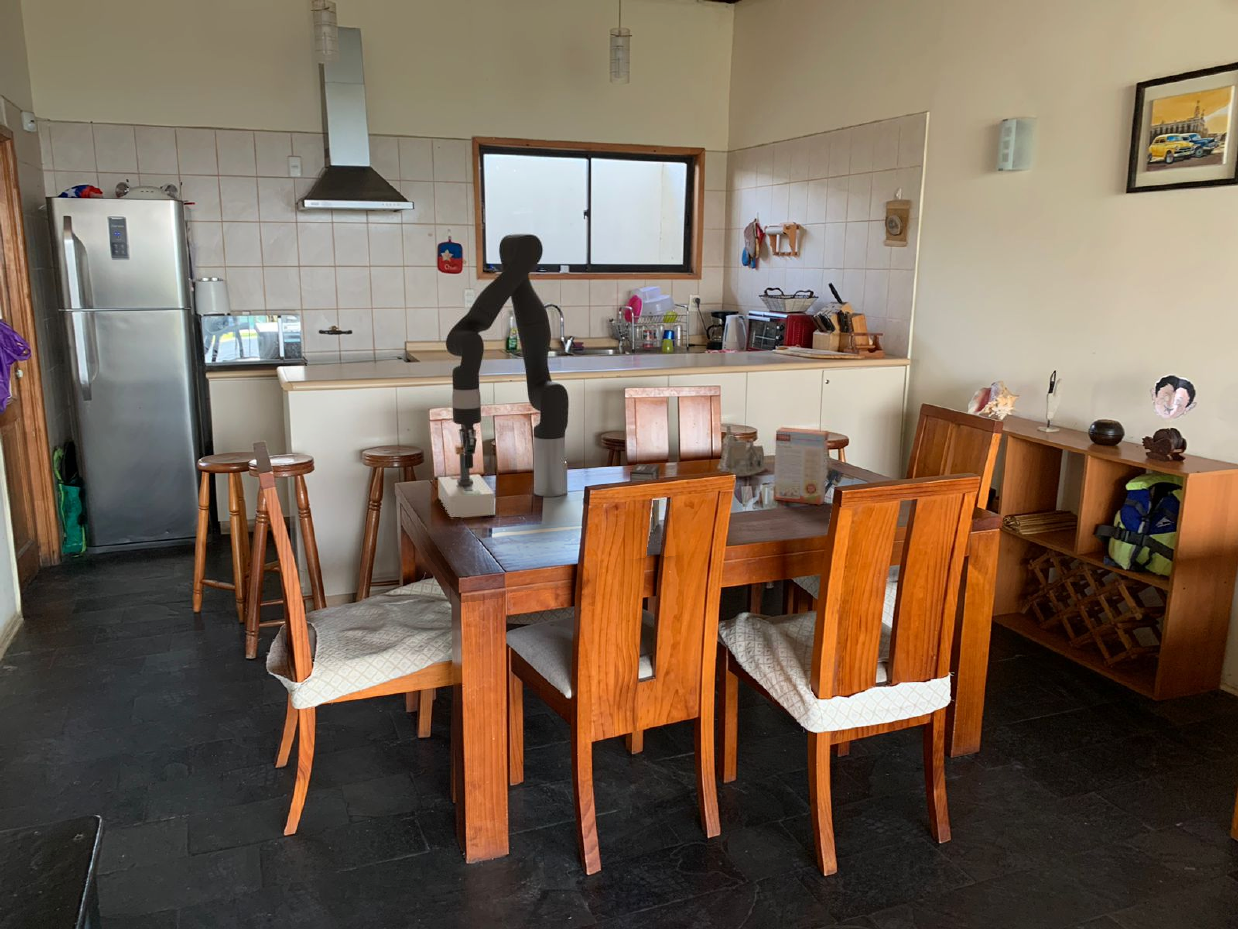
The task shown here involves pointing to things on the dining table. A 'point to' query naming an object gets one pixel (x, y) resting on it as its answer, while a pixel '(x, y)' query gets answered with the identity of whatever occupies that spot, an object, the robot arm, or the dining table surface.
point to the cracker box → (800, 465)
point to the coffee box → (642, 474)
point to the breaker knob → (463, 469)
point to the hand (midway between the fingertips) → (468, 467)
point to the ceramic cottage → (741, 456)
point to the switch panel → (466, 497)
